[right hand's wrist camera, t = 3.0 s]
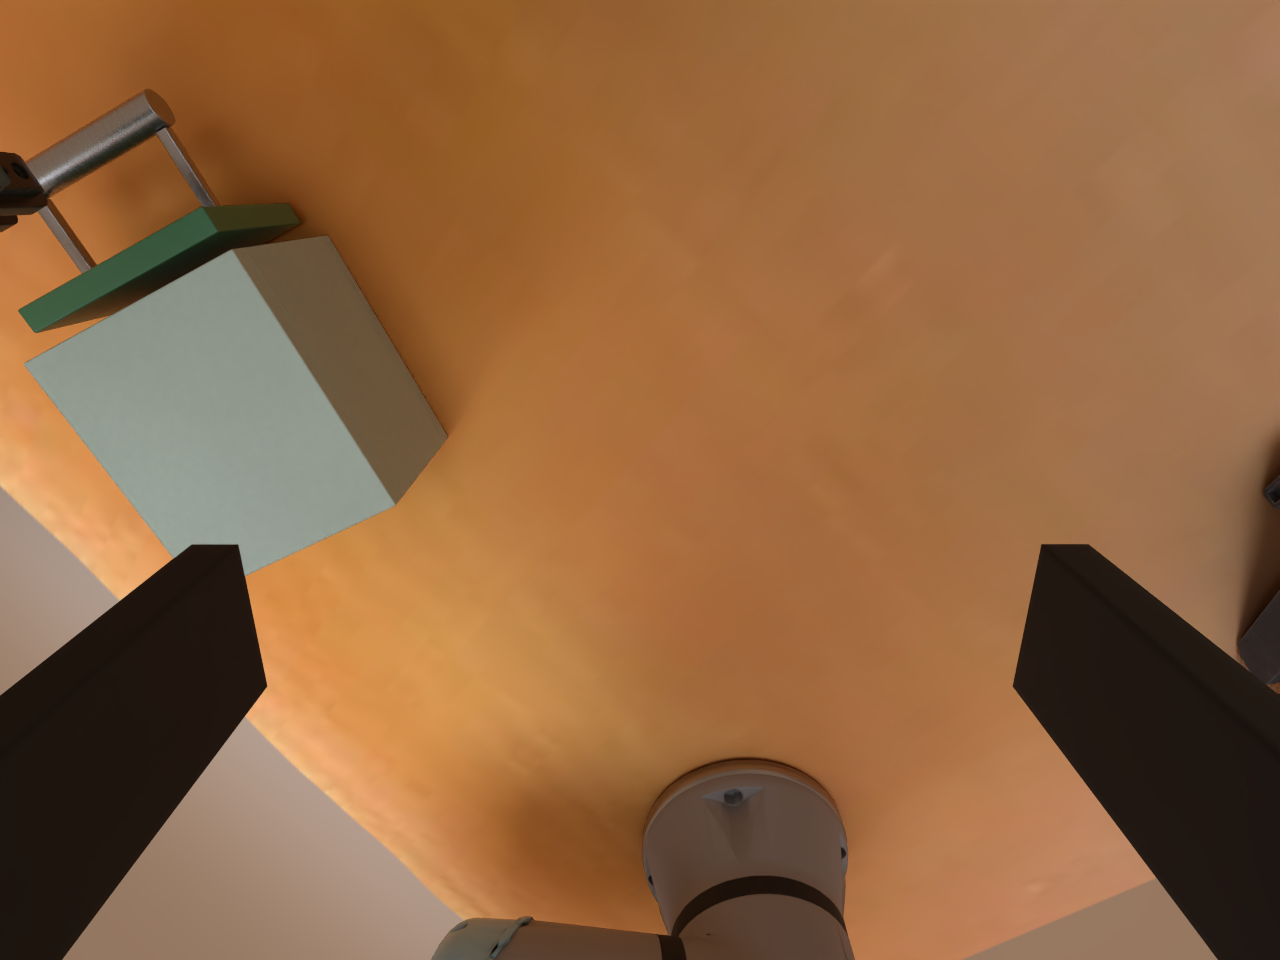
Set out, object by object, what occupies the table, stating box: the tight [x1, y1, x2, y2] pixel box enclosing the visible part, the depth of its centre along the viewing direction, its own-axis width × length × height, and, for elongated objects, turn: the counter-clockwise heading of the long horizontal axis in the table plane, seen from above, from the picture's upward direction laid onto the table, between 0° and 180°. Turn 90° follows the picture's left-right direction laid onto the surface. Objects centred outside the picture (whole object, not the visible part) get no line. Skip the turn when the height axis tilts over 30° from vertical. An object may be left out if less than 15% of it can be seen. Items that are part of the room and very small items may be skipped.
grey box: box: [24, 235, 448, 576], centre depth 41 cm, size 13×12×11 cm
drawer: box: [18, 89, 300, 333], centre depth 39 cm, size 18×10×9 cm, turn 26°
